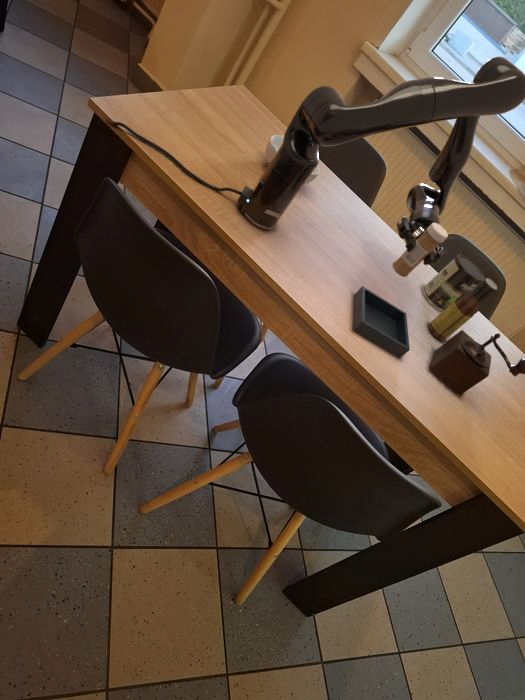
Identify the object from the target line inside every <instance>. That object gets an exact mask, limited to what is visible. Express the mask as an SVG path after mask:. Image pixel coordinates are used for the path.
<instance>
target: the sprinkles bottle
mask: <svg viewBox="0 0 525 700" xmlns="http://www.w3.org/2000/svg"><path fill="white" fill-rule="evenodd" d="M448 237H449V235H448V232H447V231H446V229H445V228H444V227H443V226H442V225H440V223H439V224H437V223H432V224H431V225H430V226H429V227H428V228H427V230H426V231H425V232H424V233H423V234H422V235H421V236H420V237H419V238H418V239H417V240H416V245H415V247H414V248H413V249H412V250H411V251H410V252H408V251H406V250H405V251H404V252H403V253H402V254H401V255H400V256H399V257H398V259H396V261H394V262H392V268H393V270H394V271H395V273H396V274H397V275H398V276H400V277H403V278H407V277H408V276H409V274H410V273H411V272H412V271H414V270H415V269H416V268H417V267H418V266H420V264H421V263H422V262H423V261H424V259H425V258H426V257H427V256H428V255H429V254H430V253H431V252H432V251H433V250H434V249H435V248H436V247H437V246H439V245H440V244H443V242H445V240H447V238H448Z"/></svg>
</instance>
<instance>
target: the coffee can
mask: <svg viewBox="0 0 525 700" xmlns="http://www.w3.org/2000/svg"><path fill="white" fill-rule="evenodd" d="M484 279H486V278H485V275H484V273H483V271H482V270H481V269H480V267H479V266H478V265H477V264H476V263H475V262H474V260H473V259H471V258H469V257H468V256H466V255H464V254H462V253H457V255H456V256H454V258H453V259H452V260H451V261H450V262H449V263H448V264H446V265H445V266H444V267H443V268H442V269H441V270H440V271H439V272H438V273H437V274H436V275H434V276H433V277H432V278H431V279H430V280H429V281H427V283H426V284H425V285H424V286H422V289H421V291H422V294H423V297H424V298H425V299H426V300H427V302H428V303H429V304H430V305H431V306H432V307H433V308H434V309H436V310H438V311H439V312H443V311H444V310H445V309H446V308H447V307H448V306H449V305H450V304H451V303H452V302H454V301H455V300H456V299H457V298H458V297H460V296H461V295H463V294H465V293H468V292H470V291H472V290H474V289H475V288H476V287H477V286H479V285H480V284H481V282H482V281H483V280H484Z"/></svg>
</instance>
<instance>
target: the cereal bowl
mask: <svg viewBox="0 0 525 700" xmlns="http://www.w3.org/2000/svg"><path fill="white" fill-rule="evenodd" d="M283 139H284V135H279V134H274V135H272V136H271V137H270V138H269V140H268V141H267V144H266V147H265V158H266V160H267V162H268V165H269V164H270V162H271V161H272V159H273V158H274V156H275V154H276V153H277V151H278V150H279V148H280V146H281V145H282V143H283ZM320 171H321V169H320V165H319V164H318V165H317V167H316V168H315V170H314V171H313V172H312V174H311V175H310V177H309V178H308V179H307V181H306V182H305V184H304V185H308V184H310V183H312V182H313V181H314V180H315V179H316V178H317V176H319V174H320Z"/></svg>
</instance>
